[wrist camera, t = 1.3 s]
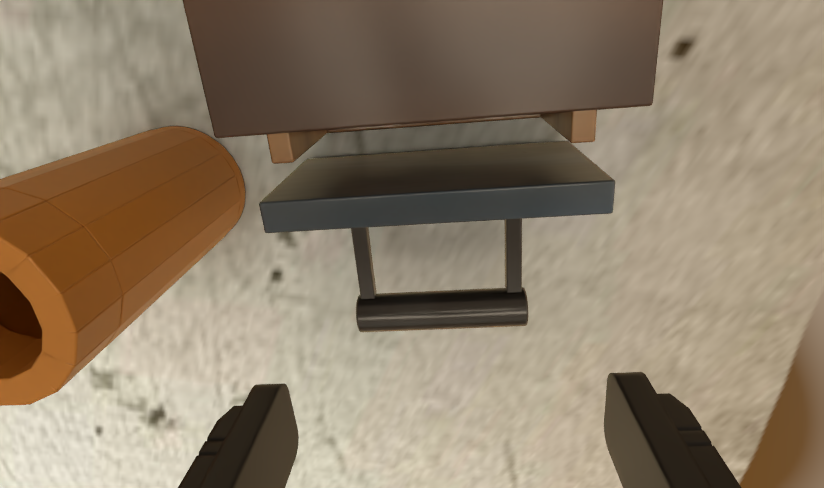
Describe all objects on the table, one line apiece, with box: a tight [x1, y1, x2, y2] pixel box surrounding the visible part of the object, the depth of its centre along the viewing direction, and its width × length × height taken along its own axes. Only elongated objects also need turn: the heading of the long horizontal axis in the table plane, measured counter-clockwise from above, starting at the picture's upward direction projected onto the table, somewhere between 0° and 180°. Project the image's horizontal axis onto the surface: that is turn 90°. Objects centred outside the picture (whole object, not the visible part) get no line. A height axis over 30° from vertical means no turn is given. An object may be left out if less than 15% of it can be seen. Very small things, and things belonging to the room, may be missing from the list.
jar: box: [0, 126, 245, 405], centre depth 20 cm, size 6×6×13 cm
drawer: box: [259, 110, 615, 332], centre depth 19 cm, size 20×12×7 cm, turn 5°
